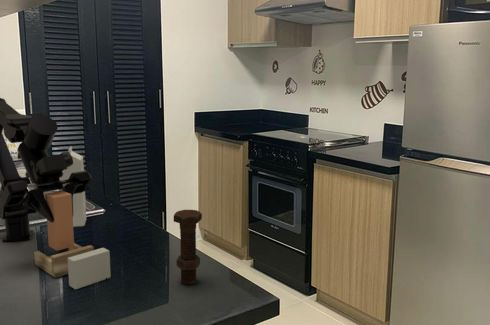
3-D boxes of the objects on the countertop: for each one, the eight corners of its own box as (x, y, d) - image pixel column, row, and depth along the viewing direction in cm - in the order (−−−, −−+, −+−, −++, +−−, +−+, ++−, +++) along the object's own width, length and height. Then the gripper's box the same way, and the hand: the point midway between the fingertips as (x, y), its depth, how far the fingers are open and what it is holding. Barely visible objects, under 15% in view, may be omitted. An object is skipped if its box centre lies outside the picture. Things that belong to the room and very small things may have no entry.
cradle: (35, 264, 106) (33, 245, 106) (72, 253, 113) (71, 235, 112) (55, 278, 100) (54, 257, 99) (94, 265, 106) (93, 246, 105)
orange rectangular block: (48, 245, 106) (45, 194, 104) (65, 241, 109) (62, 190, 107) (56, 250, 103) (53, 197, 101) (74, 246, 106) (71, 194, 104)
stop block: (69, 285, 97) (67, 257, 96) (104, 273, 103) (103, 247, 101) (75, 289, 95) (73, 261, 94) (110, 277, 101) (109, 250, 100)
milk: (86, 219, 139) (83, 145, 135) (84, 226, 133) (80, 148, 129) (64, 220, 138) (60, 145, 134) (61, 227, 132) (56, 149, 128)
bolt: (196, 289, 96) (195, 218, 93) (172, 286, 97) (170, 216, 94) (204, 277, 101) (203, 209, 99) (181, 275, 102) (180, 208, 100)
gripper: (2, 145, 98) (28, 208, 92) (86, 136, 111) (113, 191, 106) (-9, 176, 104) (15, 236, 99) (71, 164, 118) (96, 217, 113)
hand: (62, 219), depth 104 cm, fingers closed on orange rectangular block, 4 cm apart
